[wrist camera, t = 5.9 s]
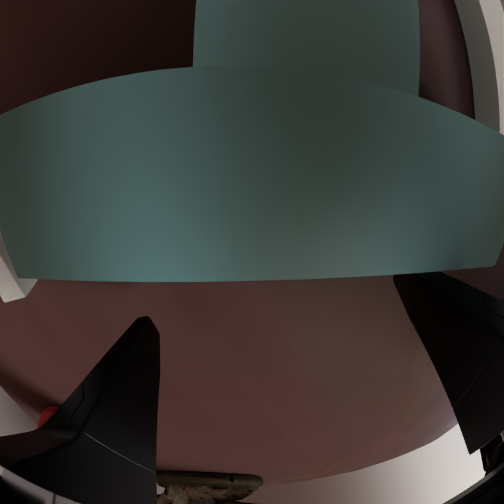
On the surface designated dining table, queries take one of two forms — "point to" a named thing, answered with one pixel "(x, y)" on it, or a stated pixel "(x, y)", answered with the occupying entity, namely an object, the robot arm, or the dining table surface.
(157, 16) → the dining table surface
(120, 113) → the T block
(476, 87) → the outline
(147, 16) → the dining table surface
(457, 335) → the robot arm
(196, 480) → the khaki lumpy piece
